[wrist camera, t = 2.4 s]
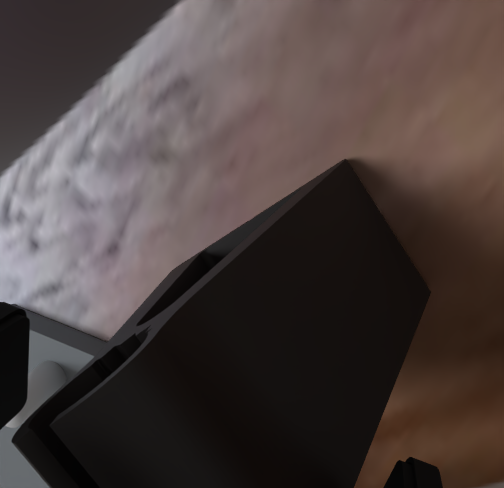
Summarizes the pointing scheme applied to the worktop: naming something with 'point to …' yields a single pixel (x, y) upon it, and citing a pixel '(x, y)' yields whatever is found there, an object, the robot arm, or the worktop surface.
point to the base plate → (71, 361)
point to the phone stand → (246, 358)
